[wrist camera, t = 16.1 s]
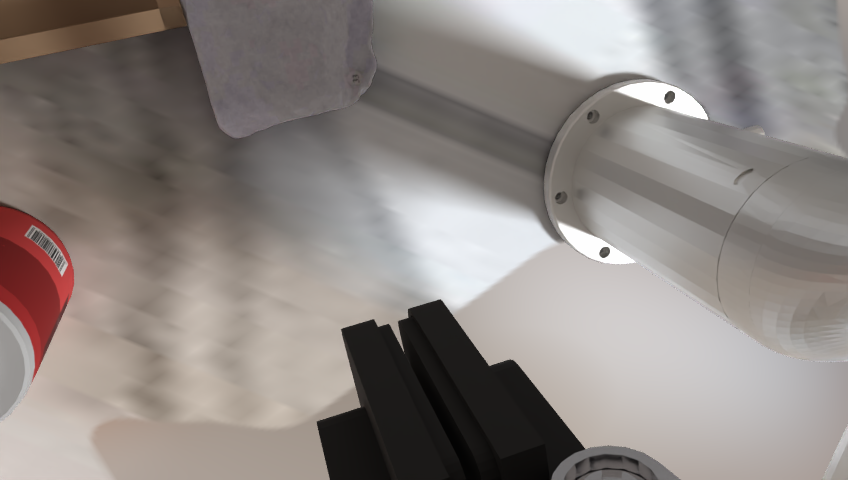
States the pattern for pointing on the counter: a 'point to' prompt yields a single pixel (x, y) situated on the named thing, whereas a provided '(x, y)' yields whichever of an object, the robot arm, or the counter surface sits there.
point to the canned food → (28, 300)
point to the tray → (79, 24)
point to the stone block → (281, 58)
